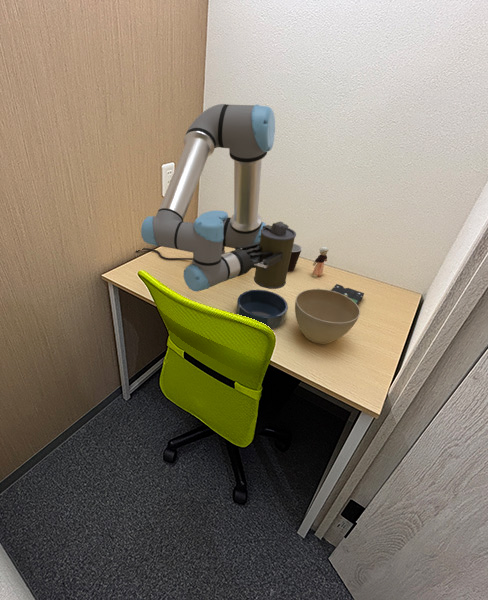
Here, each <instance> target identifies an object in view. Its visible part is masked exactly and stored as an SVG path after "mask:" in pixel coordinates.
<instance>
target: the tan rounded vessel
mask: <svg viewBox="0 0 488 600" xmlns="http://www.w3.org/2000/svg"><path fill="white" fill-rule="evenodd" d="M294 301H295V303H294V314H295V320H296V323H297V326H298V327H299V329H300V331H301V333H302V335H304V337H305V338H306V339H307V340H309V341H311V342H312V343H315V344H319V345H327V344H329V343H332V342H335V341H337V340H339V339H341V338H343V337H344V336H345V335H346V334H347V333H348V332H349V331H350V330H351V329H352V328H353V327H354V326H355V325H356V322H357V321H358V320H359V317H360V315H361V309H360V307H359V304H358V305H357V304H356V303H355V302H354V301H353V300H351V299H350V298H348V297H347V296H345V295H343V294H340V293H338V292H334V291H331V290H330V289H324V288H311V289H306V290H303V291H301V292H299V293H298V294H297V296H296V297H295V300H294Z"/></svg>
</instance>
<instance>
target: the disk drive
mask: <svg viewBox="0 0 488 600" xmlns="http://www.w3.org/2000/svg"><path fill="white" fill-rule="evenodd" d="M330 291H334V292H338V293H340V294H343V295H345V296H347V297H348V298H350V299H351V300H353V301H354V302H355V303H356V304H357V305H358V306H359V304H360V303H361V301H362V300H363V298H364V295H365V293H364V292H362V291H359V290H356V289H353V288H350V287H344V286H343V285H341V284H338V283H336V284H335V285H334V286H333V287H332V288H331V290H330Z"/></svg>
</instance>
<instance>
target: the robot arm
mask: <svg viewBox="0 0 488 600" xmlns="http://www.w3.org/2000/svg"><path fill="white" fill-rule="evenodd" d="M190 124H191V125H190V126H189V127H188V129H187V130H186V133H185V135H184V137H183V145H184V146H183V149H182V152H181V153H180V157H179V159H178V161H177V163H176V165H175V168H174V172H173V174H172V176H171V179H170V181H169V184H168V186H167V188H166V191H165V194H164V196H163V198H162V200H161V203H160V206H159V208H158V210H157V212H156V215H155V216H154V215H152V216H150V215H148V216H146V217H145V219H143V221H142V223H141V228H140V235H141V238H142V240H143V242H144V243H146V244H149V245H152V246H155V247H162V248H167V249H174V250H179V251H184V252H188V253H192V257H166V256H163V255H162V254H161V253H160V251H159V250H157V249H152V248H147V247H143V249H142V250H138V249H137V250H138V251H137V250H135V253H139V252H140V251H150V252H155V253H157V254H158V256H159V257H160V258H162V259H164V260H169V261H173V260H177V261H179V260H180V261H181V260H183V261H191V264H189V265H187V266H186V267H185V268H184V270H183V279H184V280H183V281H184V283H185V285H186V287H187V288H188V289H189V290H191V291H193V292H197V293H198V292H200V291H204V290H209V289H210V288H212V287H214V286H217V285H219V284H221V283H224V282H227V281H229V280H232V279H234V278H237V277H240V276H243V275H245V274H247V273H249V271H250V270H251V269H256V268H257V267H258V266H259V267H262V268H263V270H267V269H268V267H270V266H272V265H274V264H275V263H277V262H279V261H281V260H282V257H283V253H282V252H281V253H276V254H274V255H273V252H270V251H267V252H263V253H261V250H262V247H260V246H259V245H260V238H261V229H262V228H263V226H265V225H267V224H266V222H264V221H262V217H261V214H260V213H259V205H260V204H259V202H260V189H261V178H262V177H261V176H262V162H263V160H264V159H265V158H266V156H267V155H268V152H270V151H272V149H273V146H274V142H275V133H276V116H275V113H274V110H273V109H272V107H270V106H268V105H260V104H226V103H219V104H215V105H212V106H210V107H208V108H207V109H206V110H204V111H203V112H201V113H200V114H199V115H198V116H197V117H196V118H195V119H194V120H193V121H192V123H190ZM218 148H220V149H229V151H228V152H229V155H228V156H229V157H230V159H231V160H232V161H233V166H234V167H233V171H234V172H233V195H234V196H233V214H232V215H231V216H229V215H228V212H227V211H224V210H209V211H206V212H202V213H201V214H200V215H199V216H198V217H196V219H195V220H194V222H189V221H184V220H185V217H186V215H187V211H188V210H189V207H190V204H191V202H192V200H193V196H194V194H195V191H196V189H197V186H198V183H199V181H200V179H201V176H202V173H203V170H204V168H205V166H206V163H207V160H208V158H209V157H210V156H212V155H213V153H214V152H215V149H218ZM225 248H229V249H234V250H231V251H228V252H226V249H225Z"/></svg>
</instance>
